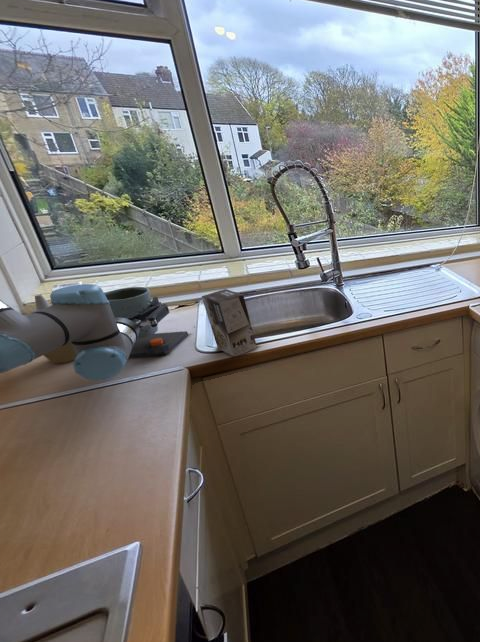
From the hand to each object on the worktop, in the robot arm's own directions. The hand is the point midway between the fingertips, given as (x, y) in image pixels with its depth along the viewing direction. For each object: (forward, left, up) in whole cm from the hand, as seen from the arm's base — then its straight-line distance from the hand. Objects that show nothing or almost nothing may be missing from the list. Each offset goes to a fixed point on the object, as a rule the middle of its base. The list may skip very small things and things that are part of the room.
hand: (133, 304), depth 112 cm
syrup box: (-21, +10, -11) cm, 26 cm away
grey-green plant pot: (+2, -4, -7) cm, 8 cm away
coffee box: (+27, -10, -11) cm, 31 cm away
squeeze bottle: (-14, -8, -11) cm, 20 cm away
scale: (+3, -5, -11) cm, 12 cm away
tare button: (+8, -9, -9) cm, 15 cm away
